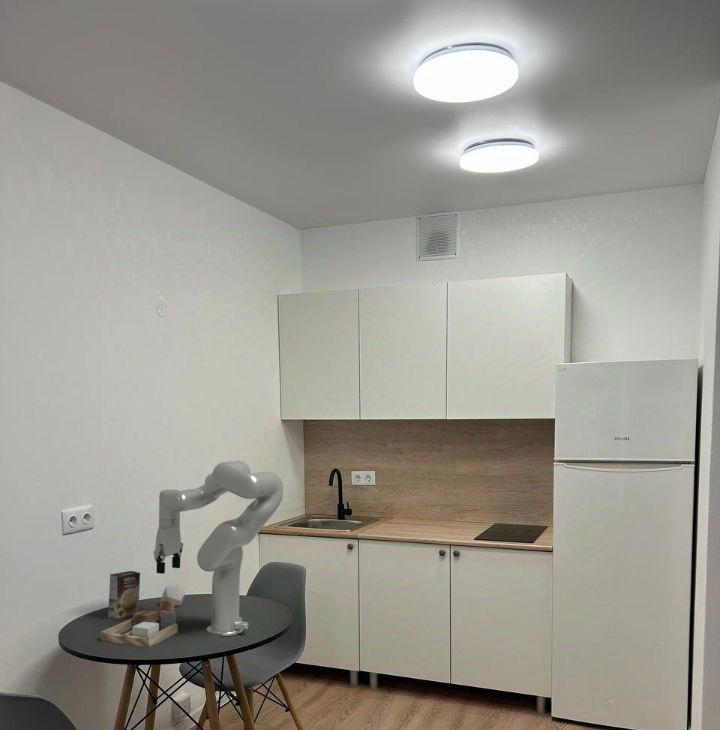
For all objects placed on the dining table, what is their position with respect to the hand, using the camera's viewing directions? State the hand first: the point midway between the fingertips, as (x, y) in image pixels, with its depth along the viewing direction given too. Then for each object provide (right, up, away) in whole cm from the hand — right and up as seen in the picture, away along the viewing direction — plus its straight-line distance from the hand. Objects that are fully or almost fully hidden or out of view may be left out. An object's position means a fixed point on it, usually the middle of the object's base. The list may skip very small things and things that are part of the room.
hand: (168, 570), depth 256 cm
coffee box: (-18, -19, +3) cm, 26 cm away
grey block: (+2, -15, -22) cm, 27 cm away
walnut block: (-3, -16, -8) cm, 19 cm away
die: (-3, -20, +19) cm, 28 cm away
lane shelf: (-2, -17, -20) cm, 26 cm away
